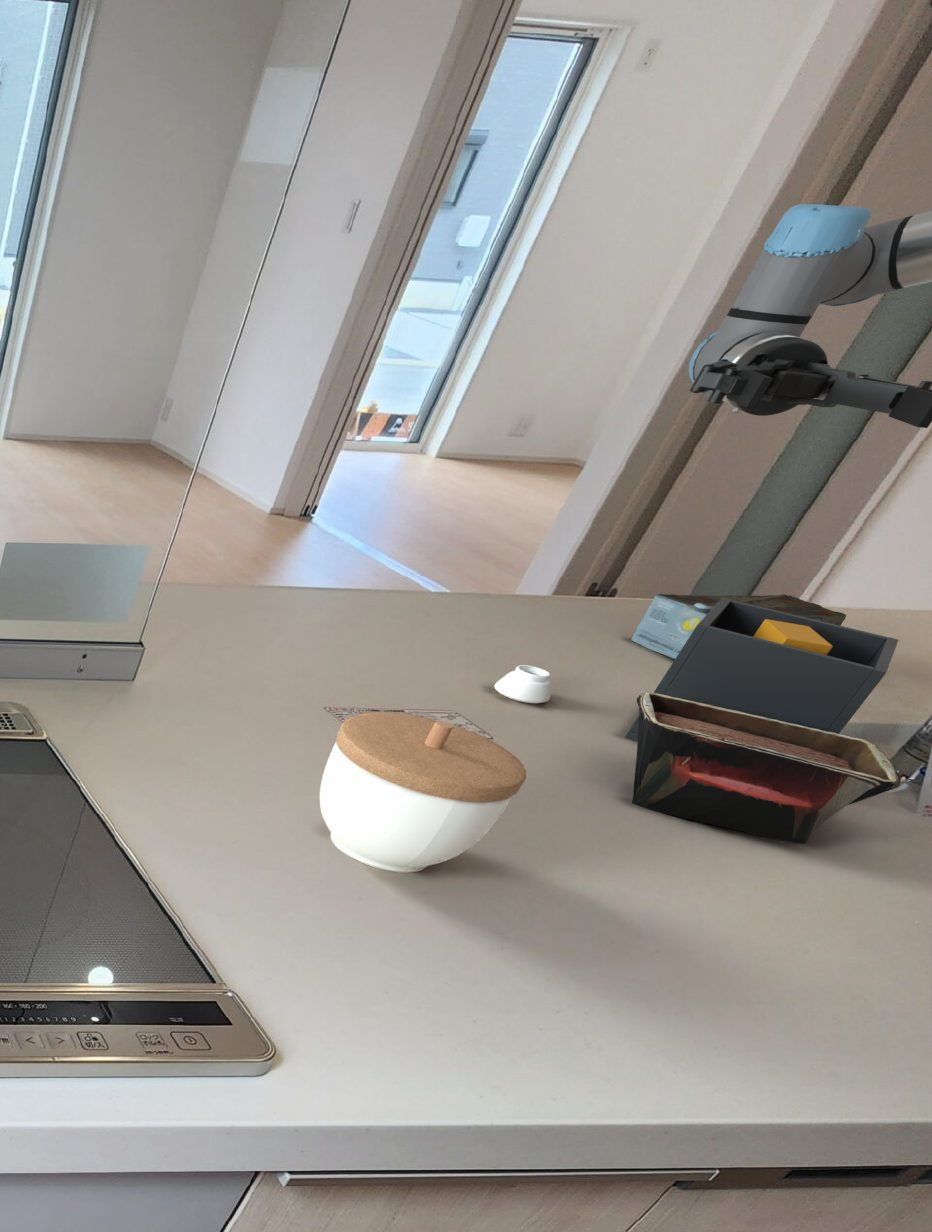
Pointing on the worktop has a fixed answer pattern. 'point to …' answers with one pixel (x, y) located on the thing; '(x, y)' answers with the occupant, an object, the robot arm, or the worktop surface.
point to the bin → (776, 669)
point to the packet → (793, 636)
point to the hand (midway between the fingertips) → (844, 402)
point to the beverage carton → (682, 613)
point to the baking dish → (750, 769)
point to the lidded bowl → (413, 790)
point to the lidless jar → (526, 685)
